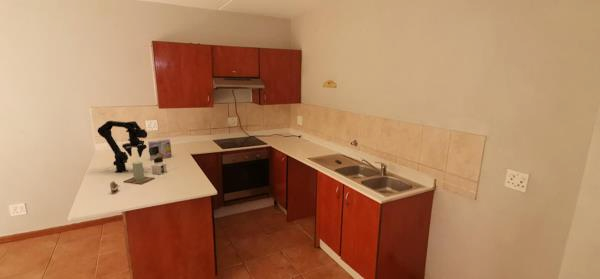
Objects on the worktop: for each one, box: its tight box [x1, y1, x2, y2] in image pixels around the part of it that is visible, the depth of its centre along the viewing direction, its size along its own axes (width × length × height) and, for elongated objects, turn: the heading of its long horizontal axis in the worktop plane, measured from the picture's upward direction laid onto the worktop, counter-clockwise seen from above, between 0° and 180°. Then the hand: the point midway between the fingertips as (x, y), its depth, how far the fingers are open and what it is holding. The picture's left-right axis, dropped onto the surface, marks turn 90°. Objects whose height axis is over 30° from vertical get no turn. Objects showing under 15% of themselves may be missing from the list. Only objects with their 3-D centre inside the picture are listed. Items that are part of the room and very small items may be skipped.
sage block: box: [132, 161, 145, 181], centre depth 217 cm, size 5×5×13 cm
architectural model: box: [109, 180, 120, 194], centre depth 196 cm, size 3×7×7 cm, turn 9°
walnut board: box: [123, 176, 156, 185], centre depth 218 cm, size 16×13×1 cm
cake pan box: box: [147, 138, 173, 161], centre depth 274 cm, size 19×5×18 cm, turn 129°
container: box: [150, 157, 168, 176], centre depth 234 cm, size 8×8×13 cm
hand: (135, 156), depth 234 cm, fingers open, 9 cm apart
